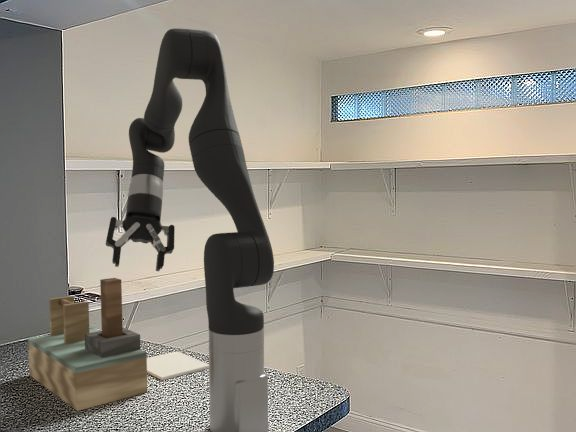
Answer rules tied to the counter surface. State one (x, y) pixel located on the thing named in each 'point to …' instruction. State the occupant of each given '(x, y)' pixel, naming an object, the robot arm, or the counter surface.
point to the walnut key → (111, 307)
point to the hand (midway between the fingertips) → (137, 268)
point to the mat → (173, 365)
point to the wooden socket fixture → (86, 359)
